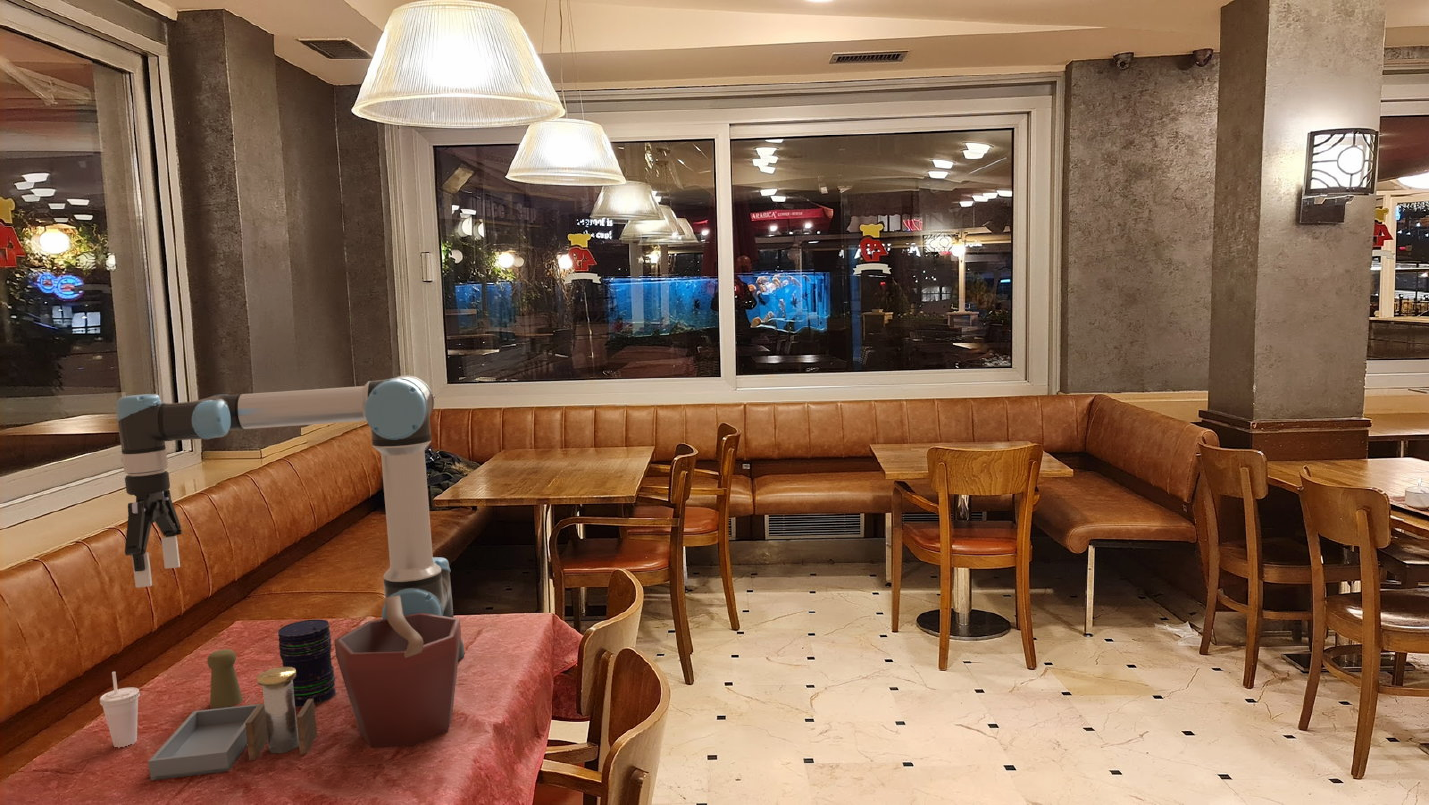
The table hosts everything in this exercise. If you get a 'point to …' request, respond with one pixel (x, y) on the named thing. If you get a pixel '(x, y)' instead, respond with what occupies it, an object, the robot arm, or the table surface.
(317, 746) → the table surface
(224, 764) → the tray
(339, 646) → the bucket
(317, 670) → the storage jar
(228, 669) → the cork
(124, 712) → the smoothie
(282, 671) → the silver metal cylinder
